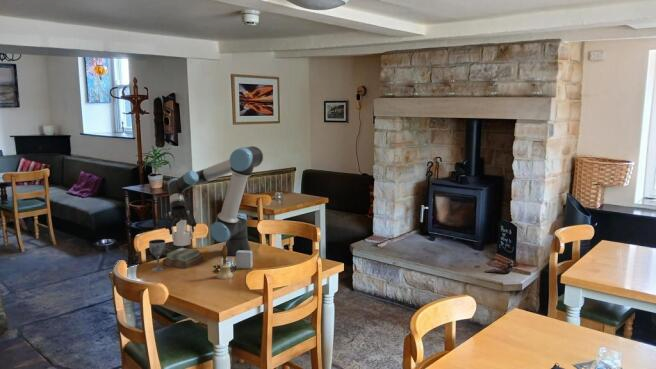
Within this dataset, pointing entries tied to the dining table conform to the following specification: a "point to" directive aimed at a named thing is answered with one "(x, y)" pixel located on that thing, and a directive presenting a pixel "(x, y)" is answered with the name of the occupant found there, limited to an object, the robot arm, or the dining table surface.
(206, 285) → the dining table surface
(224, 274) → the hand bell
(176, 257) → the tiered stand
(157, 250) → the wine glass
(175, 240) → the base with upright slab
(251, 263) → the medicine box
